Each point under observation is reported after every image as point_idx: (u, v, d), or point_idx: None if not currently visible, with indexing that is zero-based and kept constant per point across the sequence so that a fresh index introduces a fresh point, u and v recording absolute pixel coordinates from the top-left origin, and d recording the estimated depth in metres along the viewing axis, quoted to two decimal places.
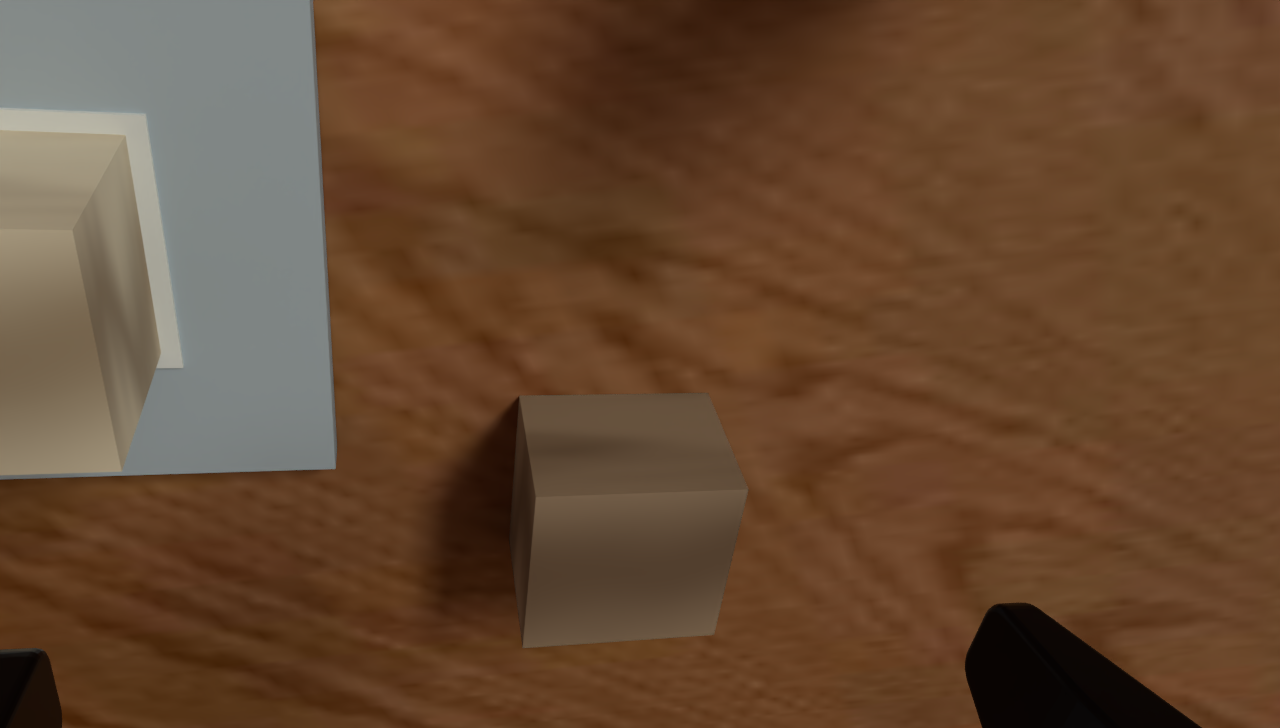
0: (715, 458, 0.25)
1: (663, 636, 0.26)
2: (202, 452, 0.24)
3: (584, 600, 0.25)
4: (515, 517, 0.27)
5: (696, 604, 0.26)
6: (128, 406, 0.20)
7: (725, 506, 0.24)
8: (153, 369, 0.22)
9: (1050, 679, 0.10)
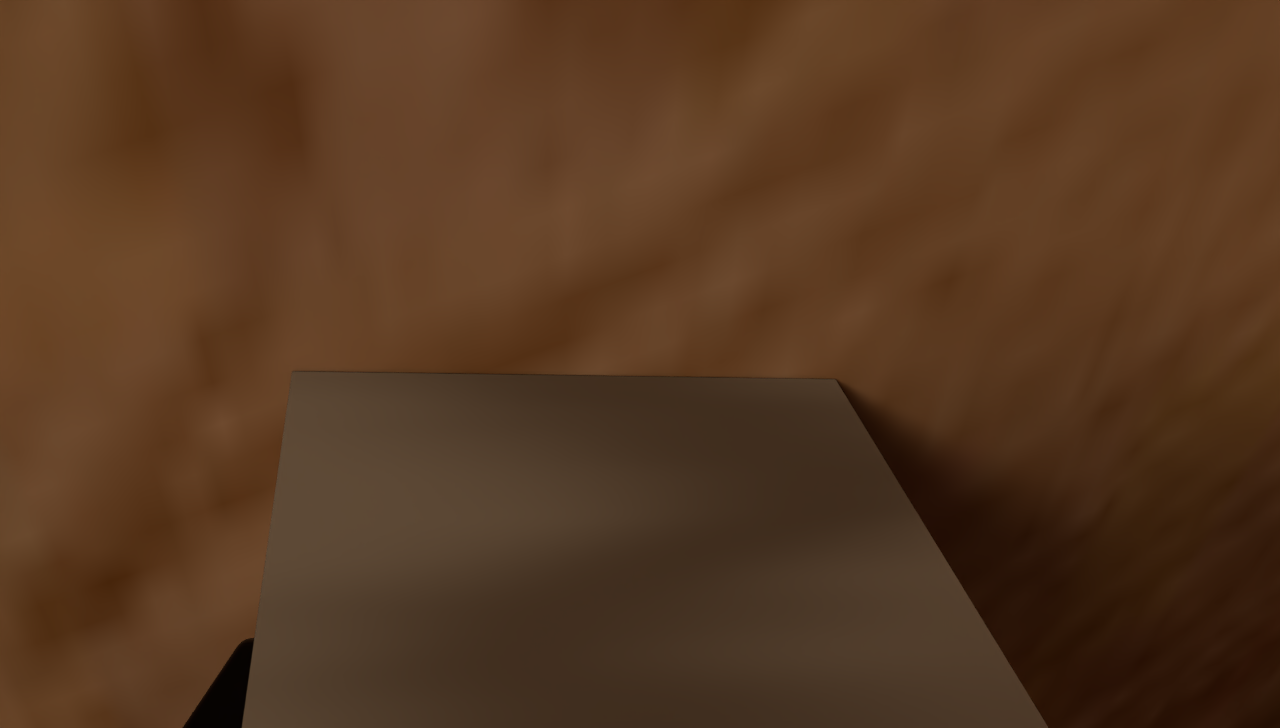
0: None
1: None
2: None
3: None
4: None
5: None
6: None
7: None
8: None
9: None
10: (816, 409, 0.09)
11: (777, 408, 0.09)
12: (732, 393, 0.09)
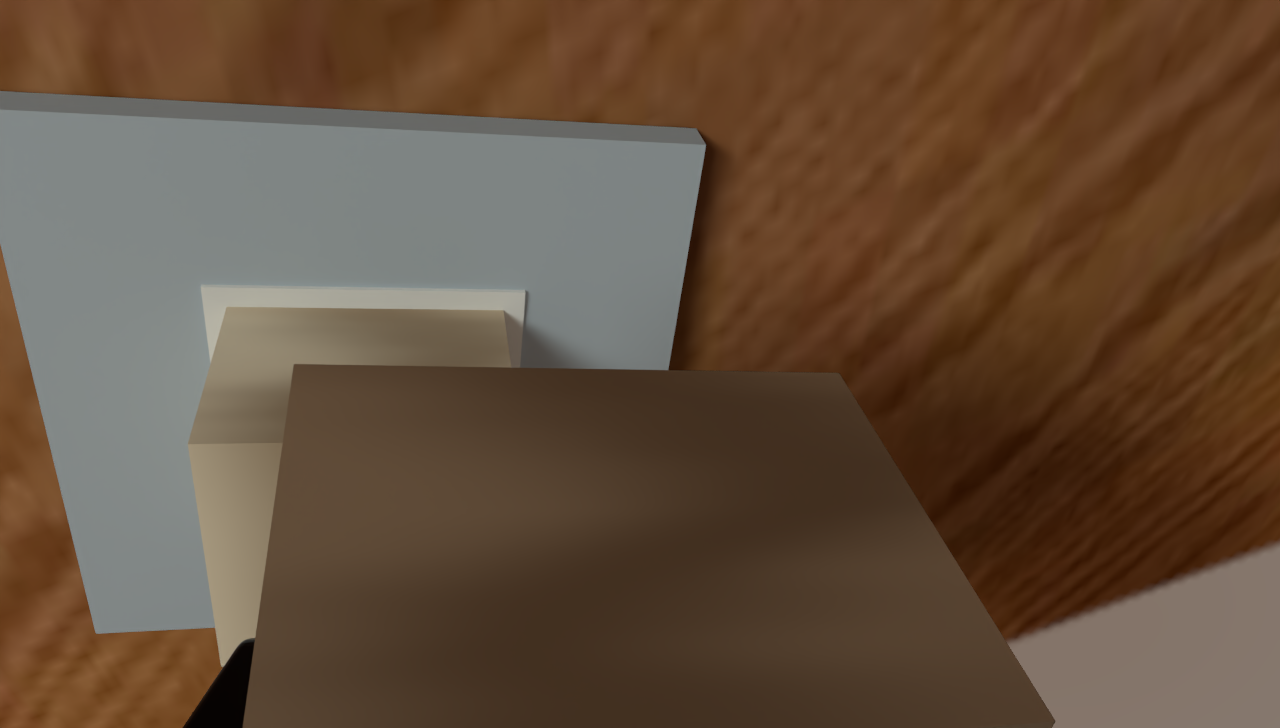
0: None
1: None
2: (650, 286, 0.20)
3: None
4: None
5: None
6: None
7: None
8: (500, 332, 0.19)
9: None
10: (820, 403, 0.09)
11: (780, 402, 0.09)
12: (735, 386, 0.09)
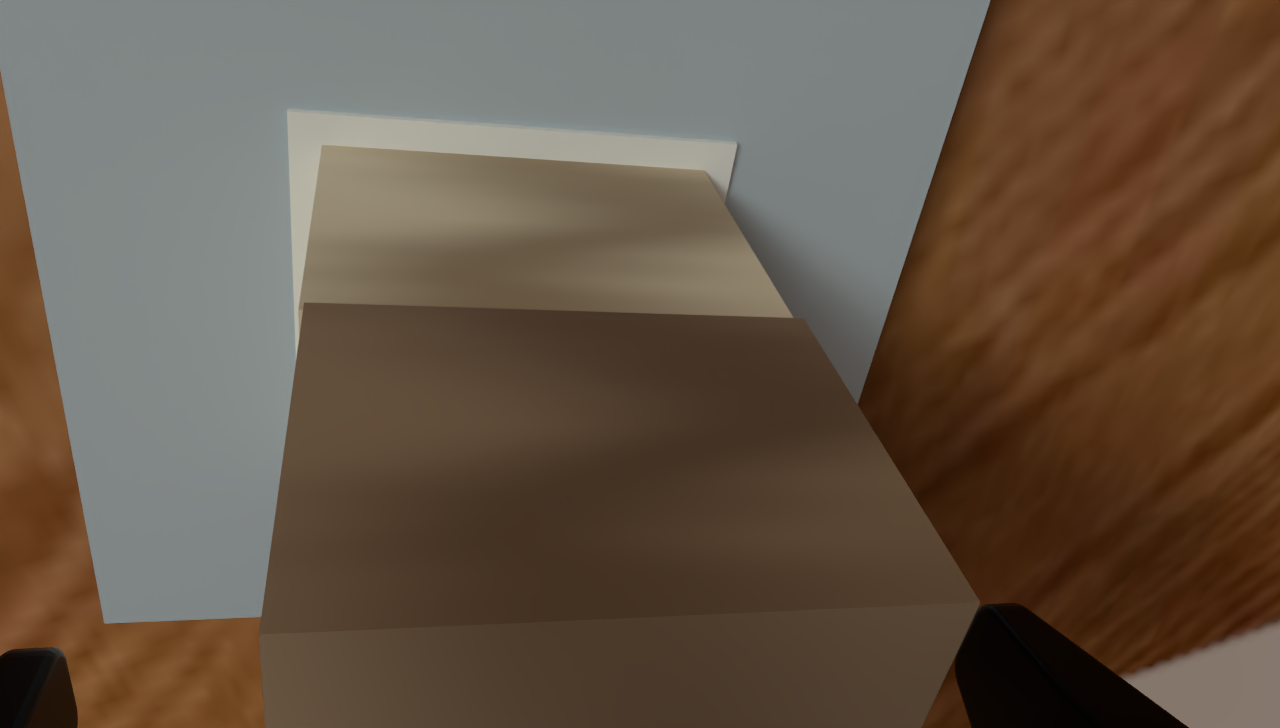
0: None
1: (923, 716, 0.08)
2: (901, 145, 0.14)
3: None
4: None
5: (808, 670, 0.08)
6: (710, 269, 0.12)
7: (345, 680, 0.07)
8: (710, 194, 0.13)
9: (1039, 680, 0.10)
10: (784, 343, 0.10)
11: (747, 341, 0.10)
12: (707, 328, 0.10)
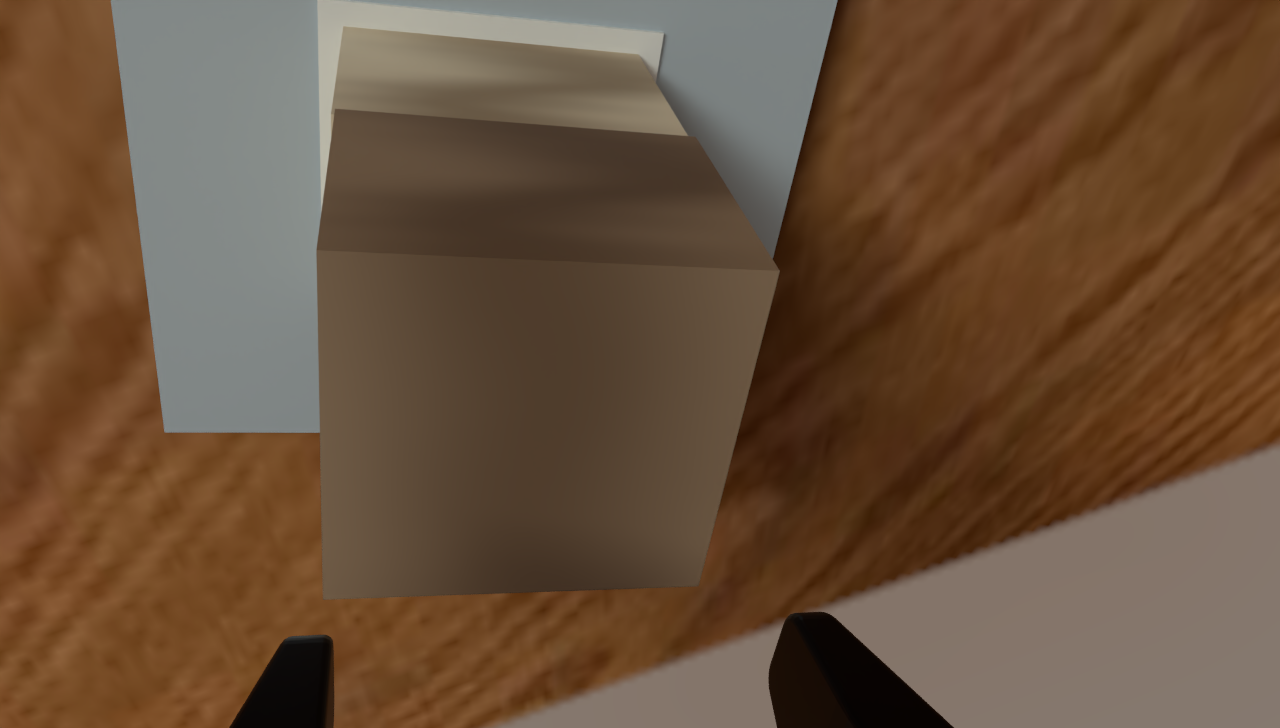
0: None
1: (753, 367, 0.12)
2: (794, 38, 0.19)
3: (600, 510, 0.13)
4: None
5: (668, 316, 0.12)
6: (631, 109, 0.16)
7: (368, 292, 0.11)
8: (640, 68, 0.17)
9: (829, 694, 0.09)
10: (678, 148, 0.14)
11: (651, 145, 0.14)
12: (623, 137, 0.14)
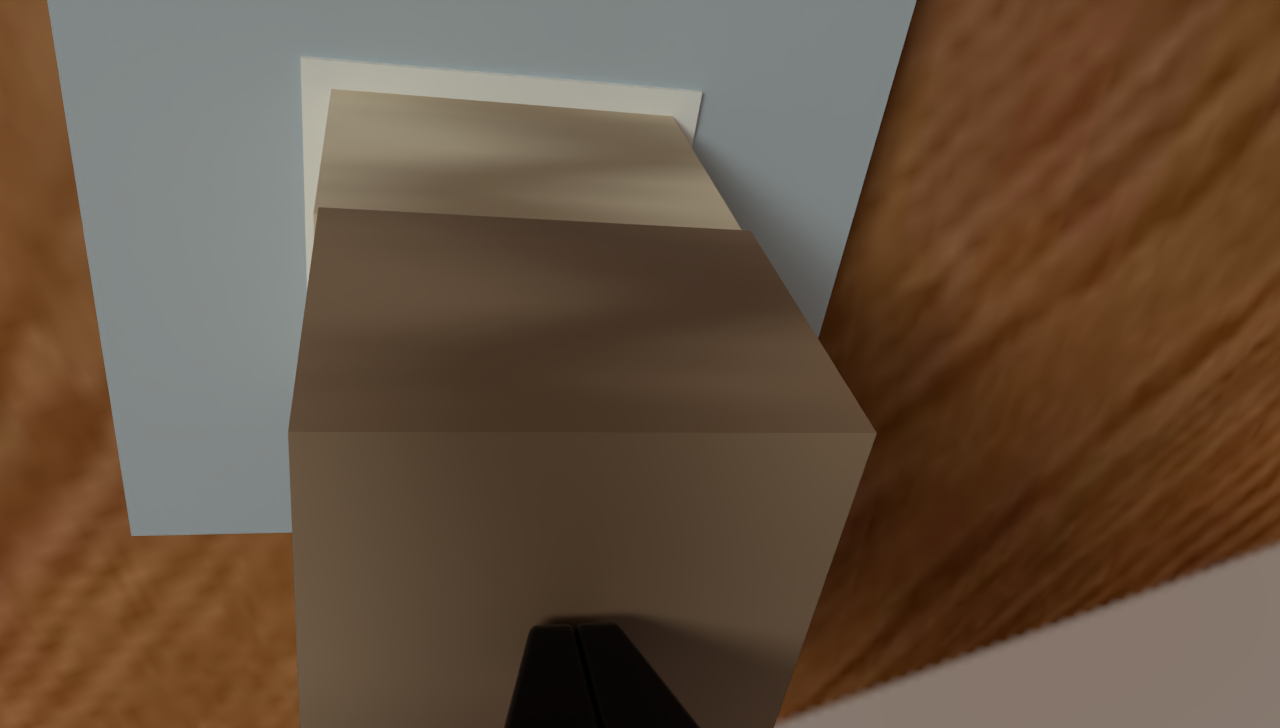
0: None
1: (837, 540, 0.10)
2: (851, 95, 0.16)
3: None
4: None
5: (735, 489, 0.09)
6: (671, 192, 0.13)
7: (356, 477, 0.08)
8: (677, 135, 0.15)
9: None
10: (732, 248, 0.12)
11: (699, 246, 0.12)
12: (665, 235, 0.12)
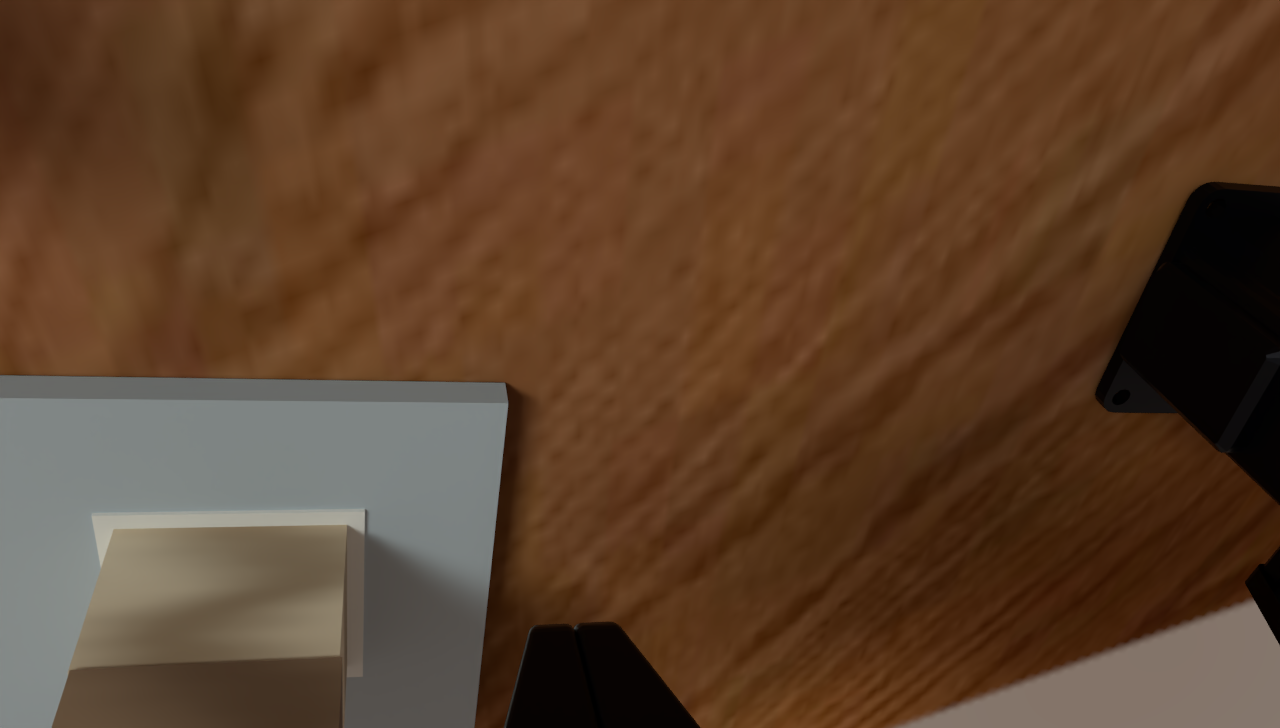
0: None
1: None
2: (471, 503, 0.24)
3: None
4: None
5: None
6: (309, 618, 0.22)
7: None
8: (340, 548, 0.23)
9: None
10: (321, 677, 0.20)
11: (300, 678, 0.20)
12: (282, 670, 0.20)
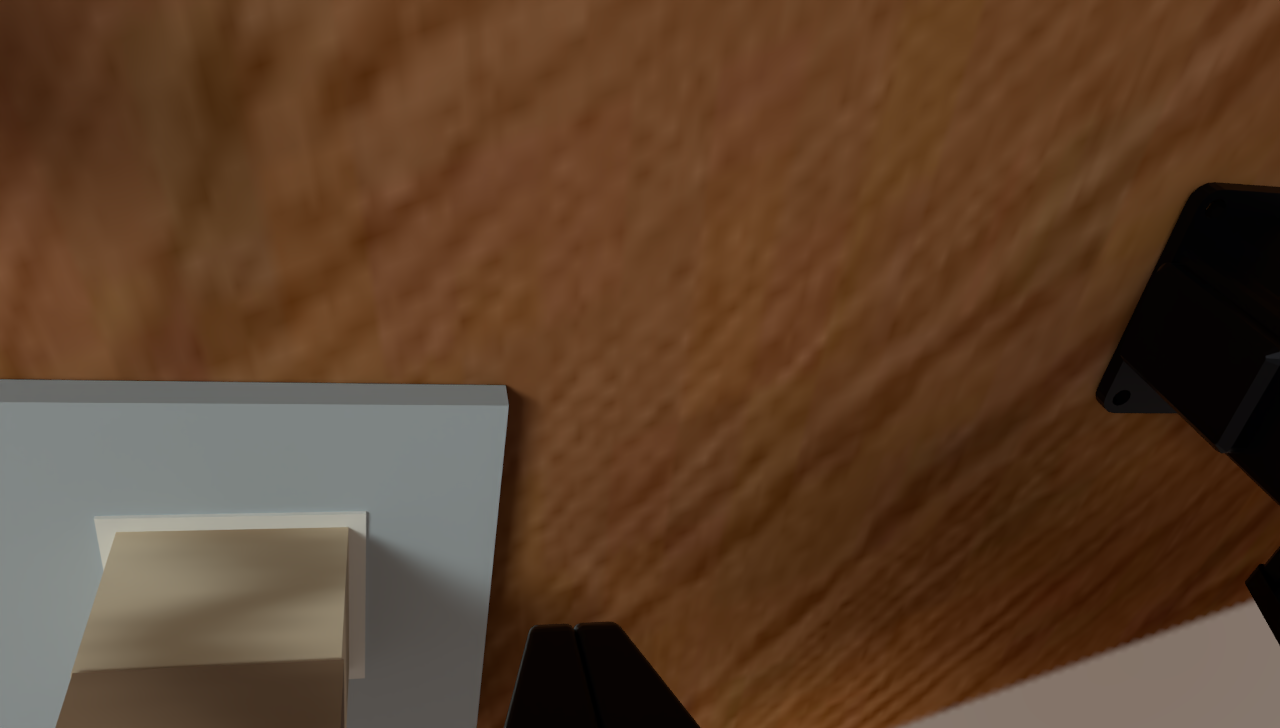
0: None
1: None
2: (471, 505, 0.25)
3: None
4: None
5: None
6: (310, 620, 0.22)
7: None
8: (342, 550, 0.23)
9: None
10: (323, 680, 0.20)
11: (302, 681, 0.20)
12: (284, 672, 0.20)
